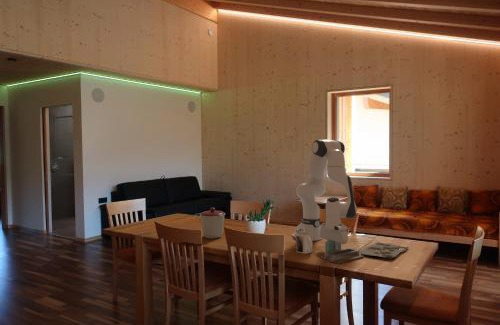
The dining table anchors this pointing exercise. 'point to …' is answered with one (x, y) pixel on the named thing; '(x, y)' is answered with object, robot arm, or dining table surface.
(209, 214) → the canister
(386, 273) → the dining table surface
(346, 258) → the track sill
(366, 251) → the stone relief
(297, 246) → the mug
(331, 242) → the teal box
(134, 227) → the dining table surface
